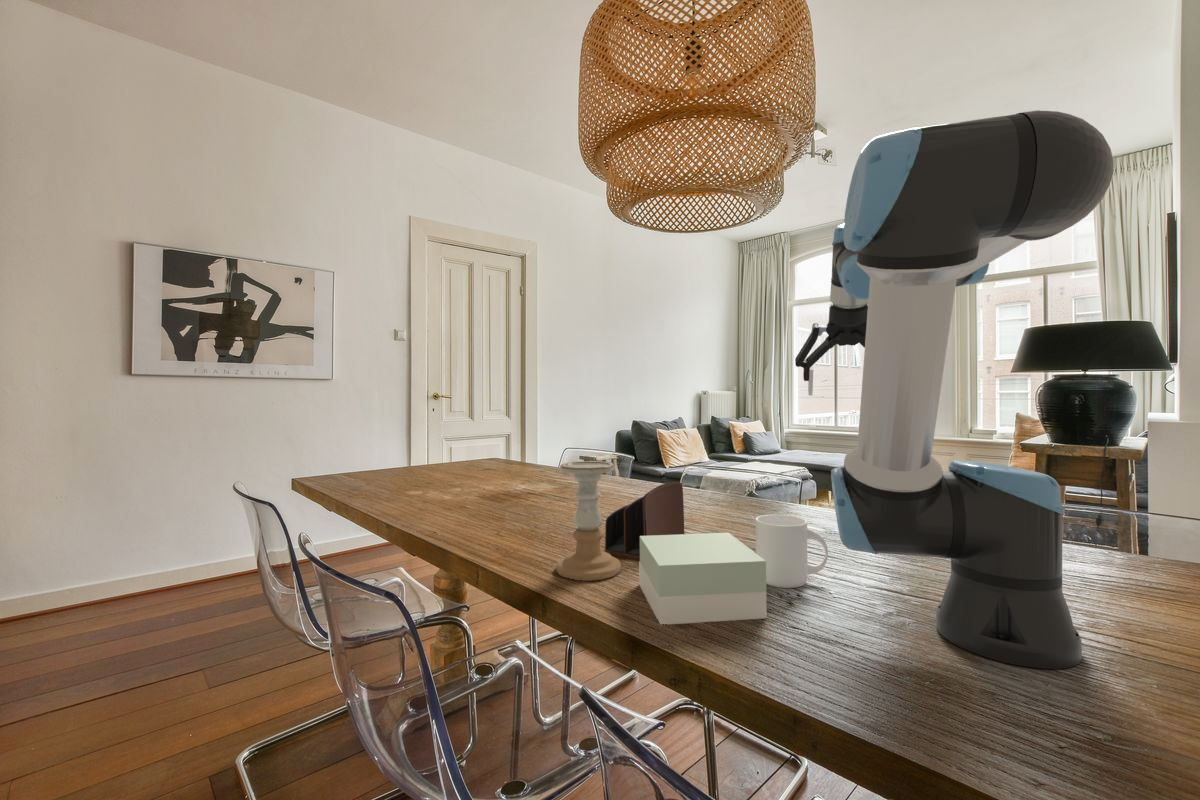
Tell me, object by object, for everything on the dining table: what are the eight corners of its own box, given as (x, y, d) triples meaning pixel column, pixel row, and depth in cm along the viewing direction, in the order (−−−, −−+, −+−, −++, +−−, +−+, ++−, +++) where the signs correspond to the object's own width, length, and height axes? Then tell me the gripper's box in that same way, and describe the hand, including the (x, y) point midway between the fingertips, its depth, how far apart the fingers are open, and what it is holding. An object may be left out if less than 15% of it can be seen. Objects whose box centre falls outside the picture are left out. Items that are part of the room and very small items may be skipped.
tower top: (766, 591, 76) (766, 560, 76) (659, 596, 75) (658, 565, 75) (728, 557, 92) (728, 532, 92) (639, 561, 91) (639, 535, 91)
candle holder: (622, 581, 93) (621, 468, 92) (553, 582, 93) (552, 469, 92) (619, 559, 105) (618, 459, 105) (558, 560, 105) (557, 460, 105)
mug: (832, 592, 86) (832, 528, 86) (757, 586, 89) (756, 524, 89) (824, 575, 94) (823, 516, 94) (755, 570, 97) (754, 513, 97)
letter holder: (685, 539, 120) (684, 478, 120) (647, 563, 103) (646, 492, 103) (646, 533, 125) (645, 475, 125) (604, 555, 108) (603, 488, 108)
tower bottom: (766, 621, 77) (766, 590, 77) (660, 627, 75) (659, 596, 75) (727, 582, 92) (727, 557, 92) (639, 587, 91) (639, 561, 91)
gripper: (916, 291, 104) (903, 383, 115) (784, 299, 112) (783, 384, 123) (924, 305, 98) (910, 401, 109) (784, 312, 106) (783, 400, 117)
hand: (843, 392), depth 116 cm, fingers open, 13 cm apart
